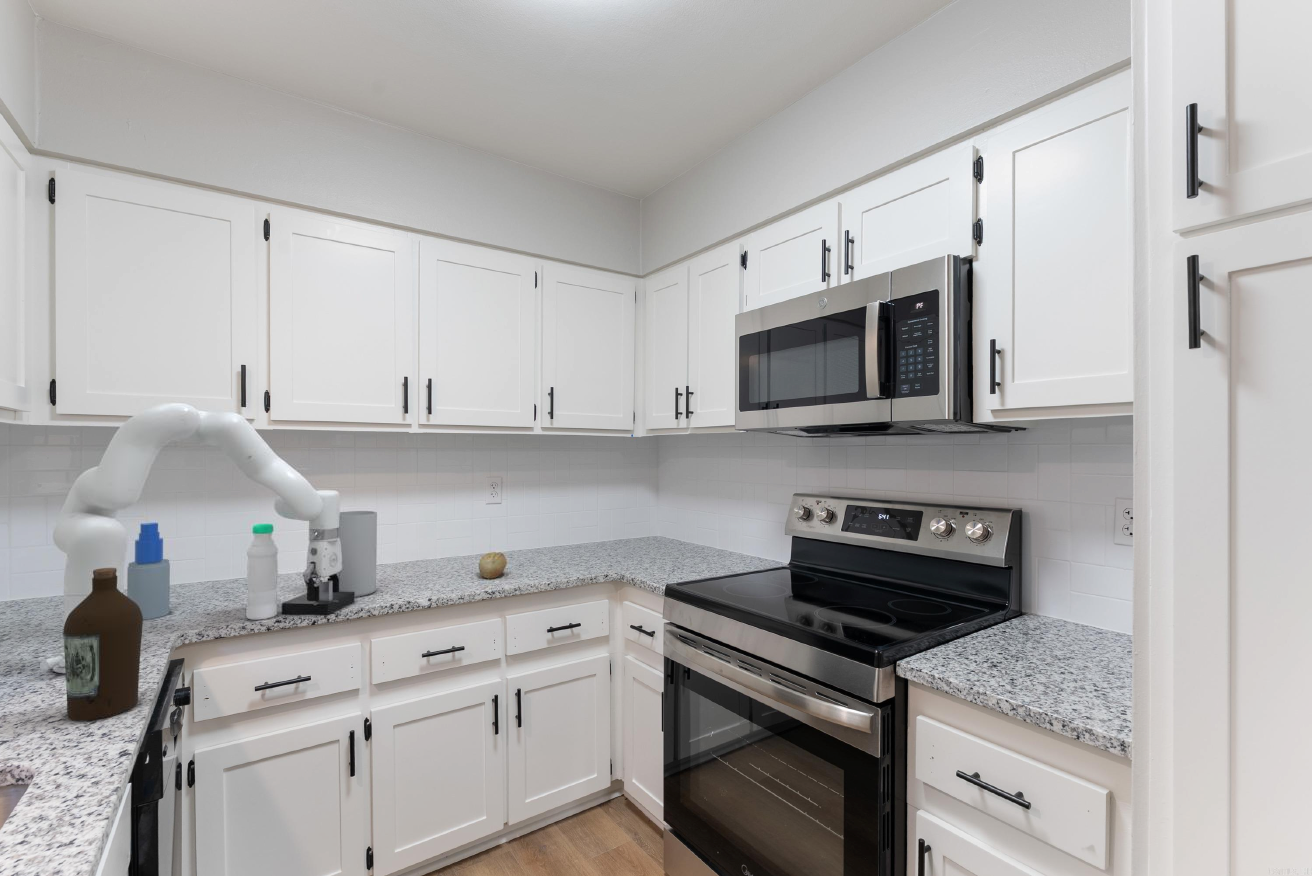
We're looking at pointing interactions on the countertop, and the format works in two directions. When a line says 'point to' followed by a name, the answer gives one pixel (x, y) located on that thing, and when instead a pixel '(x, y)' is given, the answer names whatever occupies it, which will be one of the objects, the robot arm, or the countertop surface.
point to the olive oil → (102, 651)
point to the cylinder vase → (358, 551)
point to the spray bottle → (149, 574)
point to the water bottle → (262, 574)
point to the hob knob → (325, 591)
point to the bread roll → (492, 565)
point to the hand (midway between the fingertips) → (323, 596)
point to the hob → (318, 604)
